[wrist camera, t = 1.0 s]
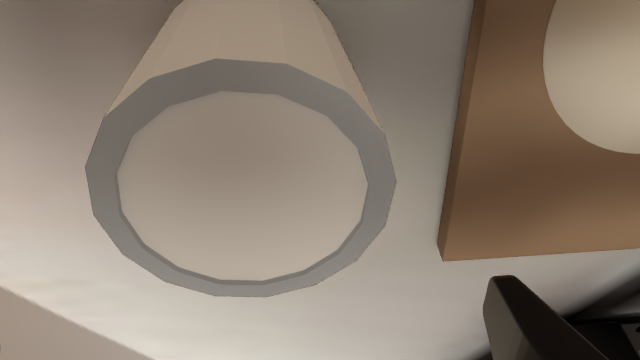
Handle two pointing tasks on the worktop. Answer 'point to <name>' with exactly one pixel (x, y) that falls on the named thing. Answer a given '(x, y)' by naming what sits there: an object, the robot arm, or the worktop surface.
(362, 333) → the worktop surface
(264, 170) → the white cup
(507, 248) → the serving board
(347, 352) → the worktop surface
